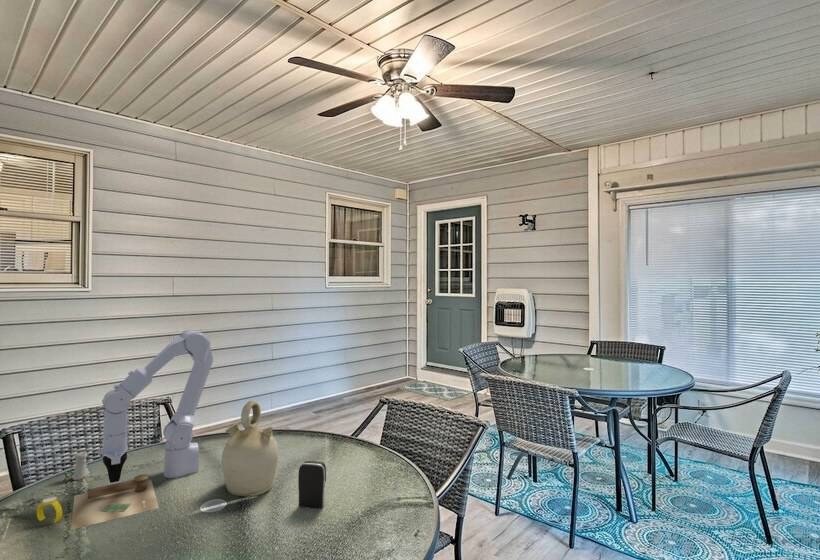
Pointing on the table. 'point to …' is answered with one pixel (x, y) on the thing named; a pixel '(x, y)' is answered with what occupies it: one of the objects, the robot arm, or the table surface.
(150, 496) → the tan wooden board
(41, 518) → the watch
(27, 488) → the table surface
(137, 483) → the peg lever
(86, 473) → the rook chess piece
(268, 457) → the jug
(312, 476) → the battery charger
